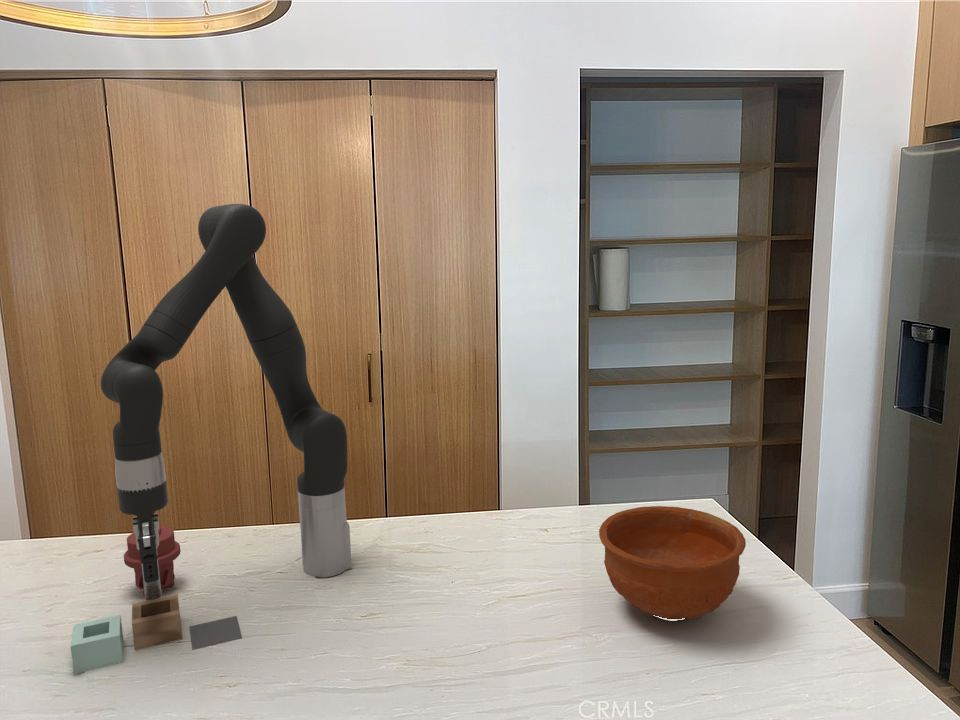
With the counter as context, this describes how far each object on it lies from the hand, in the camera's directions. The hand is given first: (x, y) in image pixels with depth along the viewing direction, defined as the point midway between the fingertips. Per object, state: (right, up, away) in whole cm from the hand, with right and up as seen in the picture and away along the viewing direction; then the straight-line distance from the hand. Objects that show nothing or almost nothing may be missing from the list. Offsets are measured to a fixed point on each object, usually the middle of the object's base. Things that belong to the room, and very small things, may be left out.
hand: (151, 576), depth 127 cm
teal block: (-7, -12, -4) cm, 14 cm away
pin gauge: (0, -4, +1) cm, 4 cm away
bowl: (+90, -8, +7) cm, 91 cm away
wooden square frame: (0, -11, +2) cm, 11 cm away
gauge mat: (+10, -11, +2) cm, 15 cm away
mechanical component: (-7, -8, +18) cm, 21 cm away
